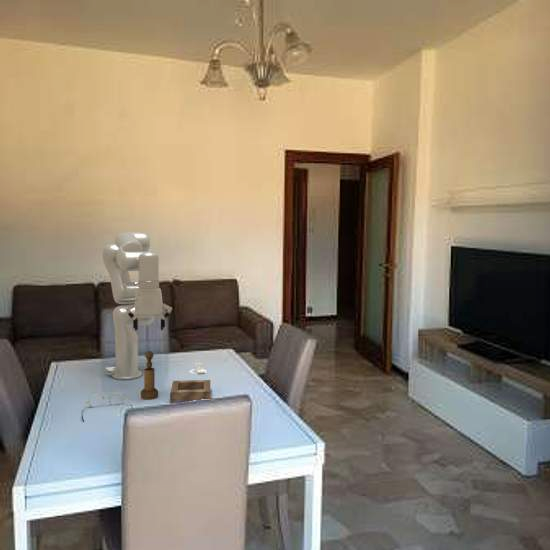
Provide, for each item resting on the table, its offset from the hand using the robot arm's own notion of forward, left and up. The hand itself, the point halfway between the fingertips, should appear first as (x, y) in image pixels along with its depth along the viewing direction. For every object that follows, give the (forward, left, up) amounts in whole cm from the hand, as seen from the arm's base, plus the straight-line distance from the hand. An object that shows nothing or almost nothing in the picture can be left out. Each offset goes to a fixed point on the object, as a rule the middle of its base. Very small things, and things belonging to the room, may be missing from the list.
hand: (149, 329), depth 199 cm
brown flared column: (0, 0, -27) cm, 27 cm away
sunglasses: (-13, -15, -27) cm, 34 cm away
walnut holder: (+16, 0, -27) cm, 31 cm away
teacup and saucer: (+16, +33, -27) cm, 45 cm away
